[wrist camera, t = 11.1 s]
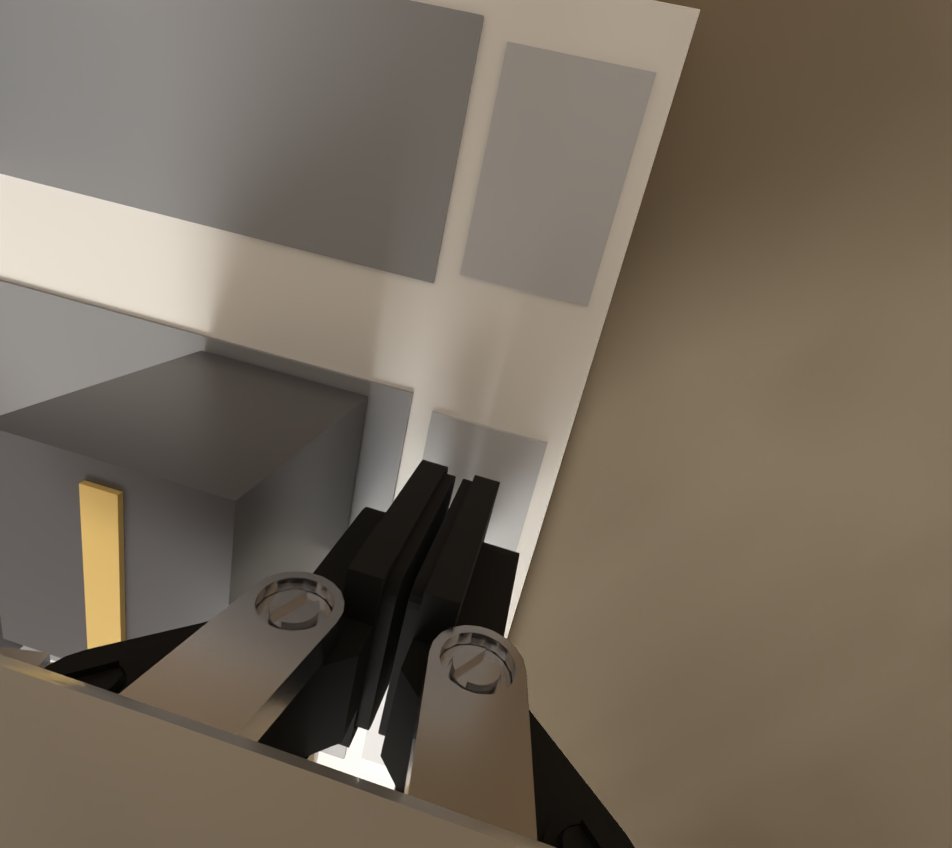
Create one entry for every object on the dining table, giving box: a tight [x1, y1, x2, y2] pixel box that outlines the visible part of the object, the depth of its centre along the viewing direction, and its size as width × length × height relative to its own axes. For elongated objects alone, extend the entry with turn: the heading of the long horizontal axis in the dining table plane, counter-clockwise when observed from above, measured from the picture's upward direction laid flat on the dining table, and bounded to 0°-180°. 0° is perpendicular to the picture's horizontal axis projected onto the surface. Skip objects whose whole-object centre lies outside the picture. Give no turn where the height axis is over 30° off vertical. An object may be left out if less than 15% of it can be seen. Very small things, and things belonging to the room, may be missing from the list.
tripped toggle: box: [0, 350, 368, 658], centre depth 11 cm, size 4×4×5 cm
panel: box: [0, 0, 701, 790], centre depth 12 cm, size 22×20×6 cm
